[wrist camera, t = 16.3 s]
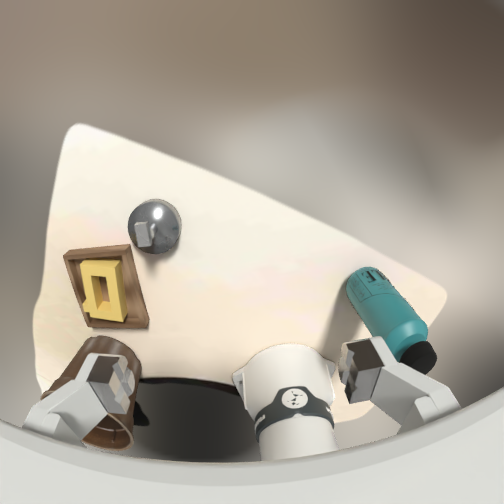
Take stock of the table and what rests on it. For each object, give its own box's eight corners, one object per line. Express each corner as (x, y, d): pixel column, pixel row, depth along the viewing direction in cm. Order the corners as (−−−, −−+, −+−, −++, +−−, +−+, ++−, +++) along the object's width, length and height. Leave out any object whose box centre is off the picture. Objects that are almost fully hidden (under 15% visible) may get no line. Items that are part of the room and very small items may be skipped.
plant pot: (148, 396, 51) (132, 460, 37) (77, 371, 49) (50, 428, 34) (157, 343, 46) (134, 418, 31) (73, 313, 43) (31, 375, 28)
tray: (149, 319, 44) (146, 327, 42) (92, 319, 43) (87, 327, 41) (130, 244, 39) (124, 250, 37) (69, 249, 38) (62, 255, 36)
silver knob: (184, 246, 39) (176, 266, 33) (137, 250, 39) (123, 269, 33) (177, 196, 36) (167, 208, 31) (128, 202, 36) (110, 215, 31)
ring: (121, 259, 39) (114, 267, 36) (127, 312, 42) (122, 321, 40) (82, 256, 38) (74, 263, 36) (91, 307, 42) (85, 316, 40)
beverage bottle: (345, 303, 44) (396, 398, 26) (337, 268, 42) (396, 362, 23) (381, 288, 44) (444, 373, 25) (376, 253, 41) (450, 334, 23)
